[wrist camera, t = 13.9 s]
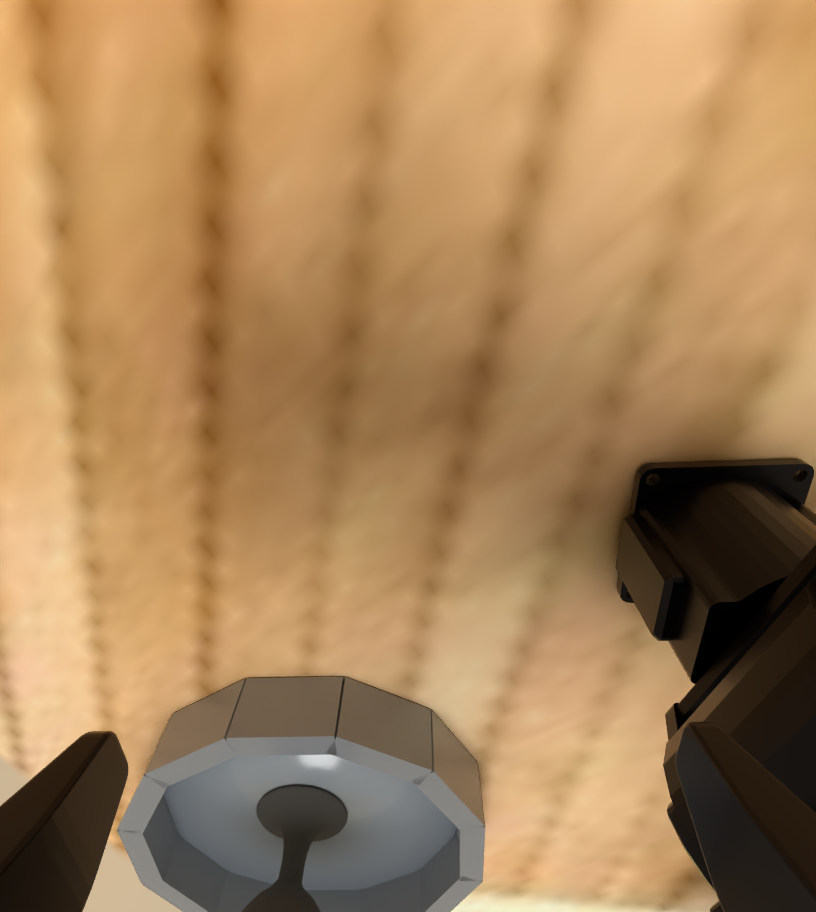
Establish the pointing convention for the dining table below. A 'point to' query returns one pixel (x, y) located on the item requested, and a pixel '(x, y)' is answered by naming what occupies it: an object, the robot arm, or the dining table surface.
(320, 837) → the sundae
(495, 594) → the dining table surface
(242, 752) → the grey polygonal tray
